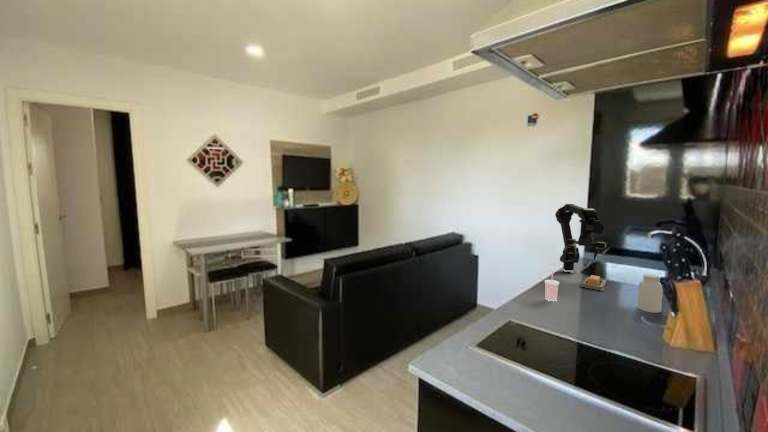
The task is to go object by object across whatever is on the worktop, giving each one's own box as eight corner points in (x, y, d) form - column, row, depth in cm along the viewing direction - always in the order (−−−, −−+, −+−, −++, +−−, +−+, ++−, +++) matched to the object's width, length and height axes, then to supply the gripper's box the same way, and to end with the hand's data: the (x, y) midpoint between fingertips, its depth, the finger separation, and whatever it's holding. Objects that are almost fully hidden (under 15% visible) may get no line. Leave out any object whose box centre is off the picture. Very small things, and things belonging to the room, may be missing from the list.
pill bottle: (639, 305, 146) (642, 272, 145) (663, 310, 140) (666, 276, 139) (634, 309, 141) (637, 275, 140) (658, 315, 135) (661, 279, 134)
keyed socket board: (585, 280, 183) (585, 276, 182) (607, 284, 176) (607, 280, 176) (580, 287, 171) (580, 283, 171) (602, 291, 164) (603, 287, 164)
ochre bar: (597, 287, 169) (597, 279, 169) (588, 285, 172) (588, 278, 171) (599, 283, 175) (600, 276, 175) (590, 282, 178) (591, 275, 177)
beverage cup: (540, 299, 154) (542, 269, 152) (550, 297, 156) (551, 268, 155) (551, 303, 148) (553, 273, 147) (561, 301, 151) (563, 271, 149)
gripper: (564, 231, 182) (562, 258, 184) (604, 234, 170) (602, 264, 172) (568, 229, 191) (567, 255, 192) (607, 232, 179) (605, 260, 180)
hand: (584, 258), depth 184 cm, fingers open, 9 cm apart
